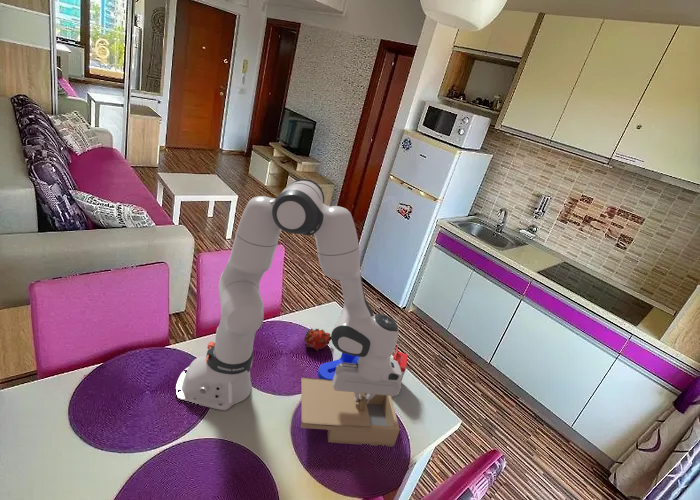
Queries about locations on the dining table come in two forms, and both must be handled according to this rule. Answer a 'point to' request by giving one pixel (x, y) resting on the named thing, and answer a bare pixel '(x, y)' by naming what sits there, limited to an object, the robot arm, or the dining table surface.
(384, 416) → the mailer box
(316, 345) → the dragon fruit
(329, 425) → the lid
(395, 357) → the ink box
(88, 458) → the dining table surface
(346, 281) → the robot arm
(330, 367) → the bracket
